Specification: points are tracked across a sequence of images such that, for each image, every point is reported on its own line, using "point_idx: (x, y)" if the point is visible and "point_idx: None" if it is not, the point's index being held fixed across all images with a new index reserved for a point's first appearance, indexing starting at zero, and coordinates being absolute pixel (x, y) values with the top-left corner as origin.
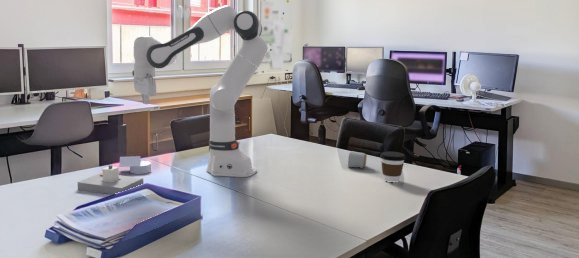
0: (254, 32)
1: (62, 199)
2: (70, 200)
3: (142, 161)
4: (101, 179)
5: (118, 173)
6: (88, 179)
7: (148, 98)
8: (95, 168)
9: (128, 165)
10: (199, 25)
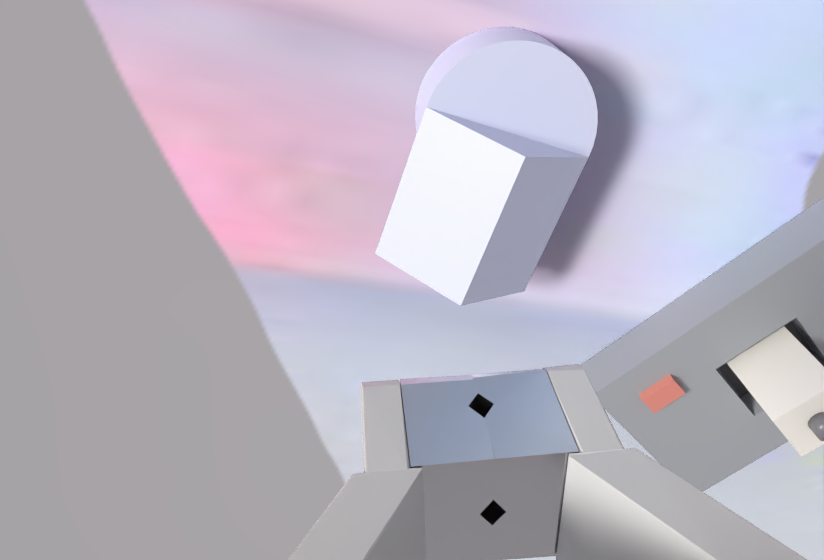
0: None
1: (767, 515)
2: (803, 494)
3: (448, 99)
4: (725, 406)
5: (812, 355)
6: (680, 456)
7: (711, 520)
8: (293, 367)
9: (544, 235)
10: None
